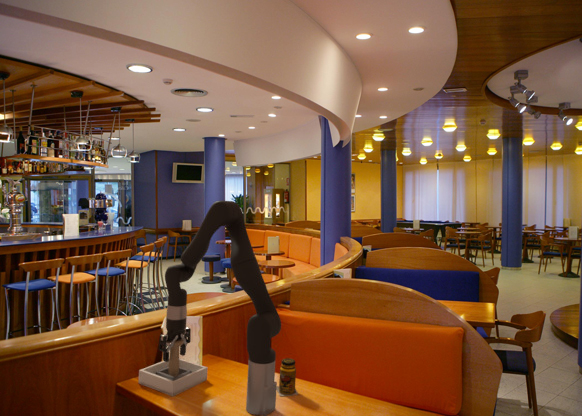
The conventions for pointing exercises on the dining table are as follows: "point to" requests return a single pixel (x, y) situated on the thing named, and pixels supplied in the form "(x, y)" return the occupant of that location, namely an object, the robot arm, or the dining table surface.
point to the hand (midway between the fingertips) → (174, 358)
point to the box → (168, 384)
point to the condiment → (287, 378)
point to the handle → (174, 358)
